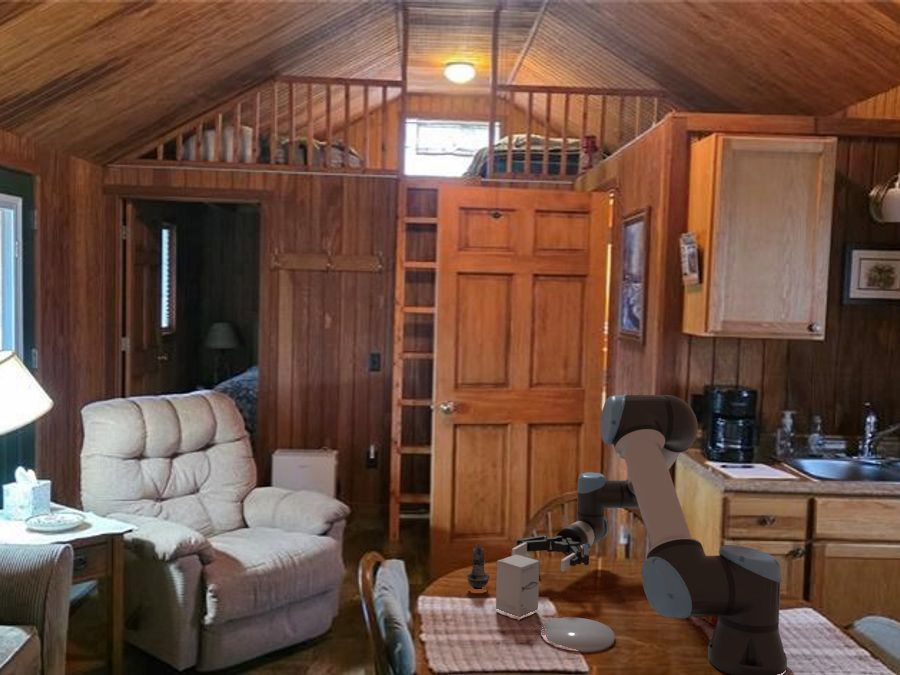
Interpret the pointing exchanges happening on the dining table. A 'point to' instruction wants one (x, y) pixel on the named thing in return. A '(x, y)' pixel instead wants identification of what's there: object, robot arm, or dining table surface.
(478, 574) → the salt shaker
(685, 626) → the dining table surface
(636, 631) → the dining table surface
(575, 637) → the plate
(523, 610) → the supplement box
